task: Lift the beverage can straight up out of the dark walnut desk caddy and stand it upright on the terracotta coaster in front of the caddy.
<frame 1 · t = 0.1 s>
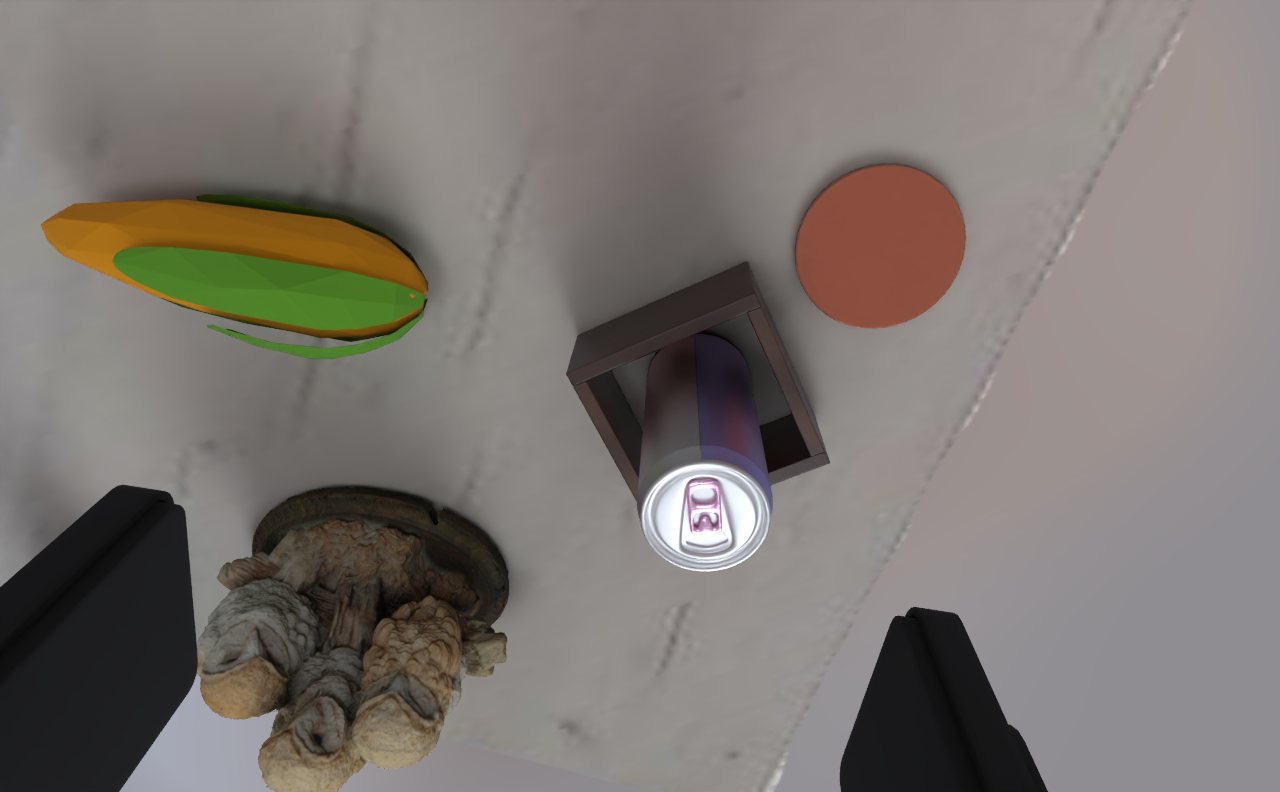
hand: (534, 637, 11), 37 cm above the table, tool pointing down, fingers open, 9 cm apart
caddy: (698, 377, 50), on the table
coaster: (878, 247, 47), on the table
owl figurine: (392, 561, 57), on the table
corn: (267, 252, 48), on the table
beverage can: (698, 375, 50), resting in caddy
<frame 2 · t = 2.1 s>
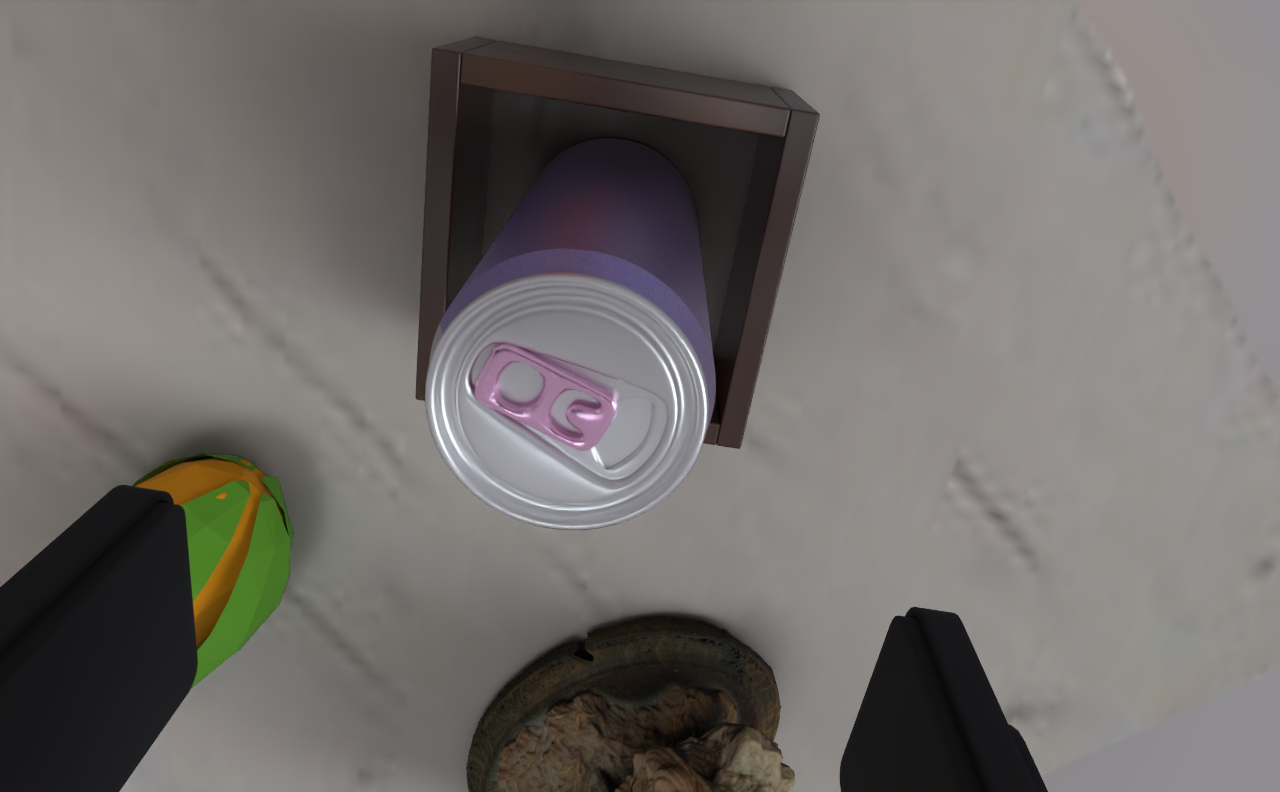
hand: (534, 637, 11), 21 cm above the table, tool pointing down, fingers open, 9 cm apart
caddy: (612, 221, 30), on the table
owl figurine: (624, 723, 41), on the table
corn: (172, 577, 38), on the table
beverage can: (612, 220, 30), resting in caddy
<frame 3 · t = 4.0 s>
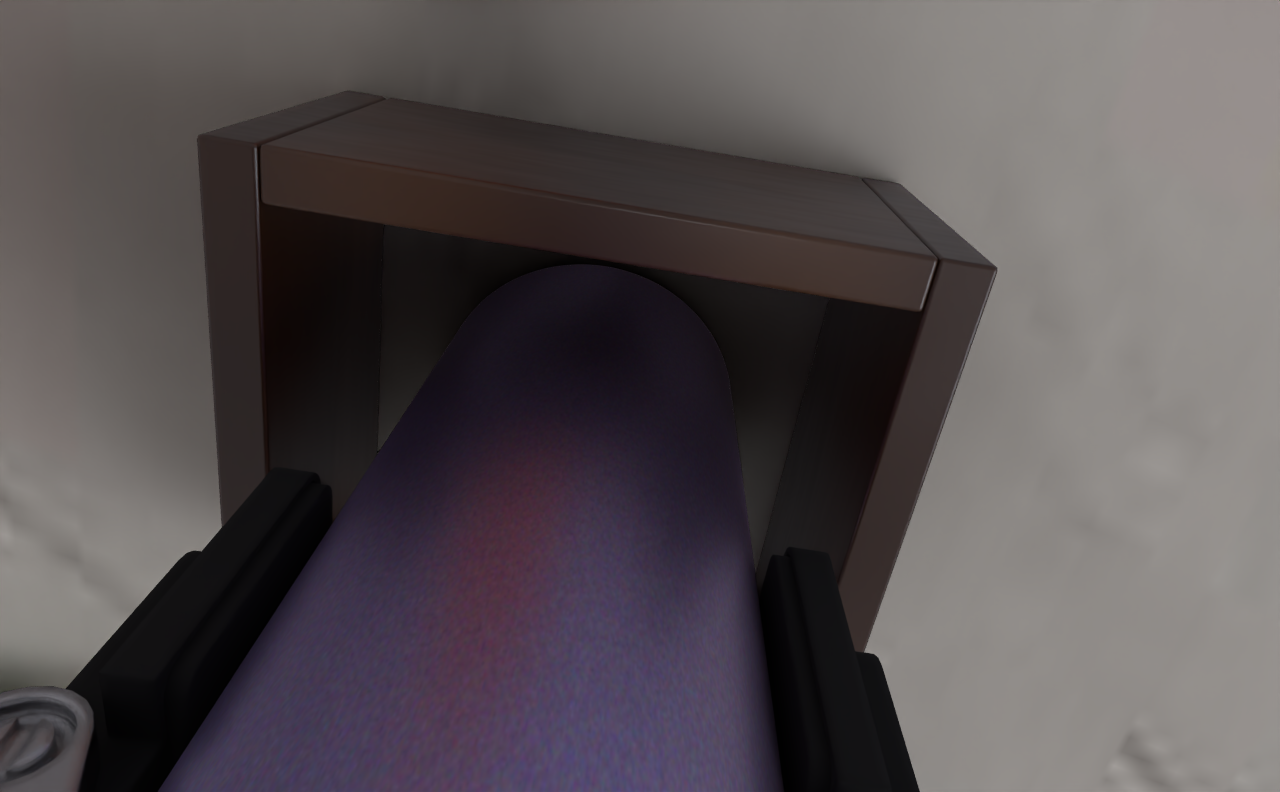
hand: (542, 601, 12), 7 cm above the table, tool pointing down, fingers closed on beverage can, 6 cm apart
caddy: (589, 389, 18), on the table
beverage can: (590, 385, 19), resting in caddy, touching gripper
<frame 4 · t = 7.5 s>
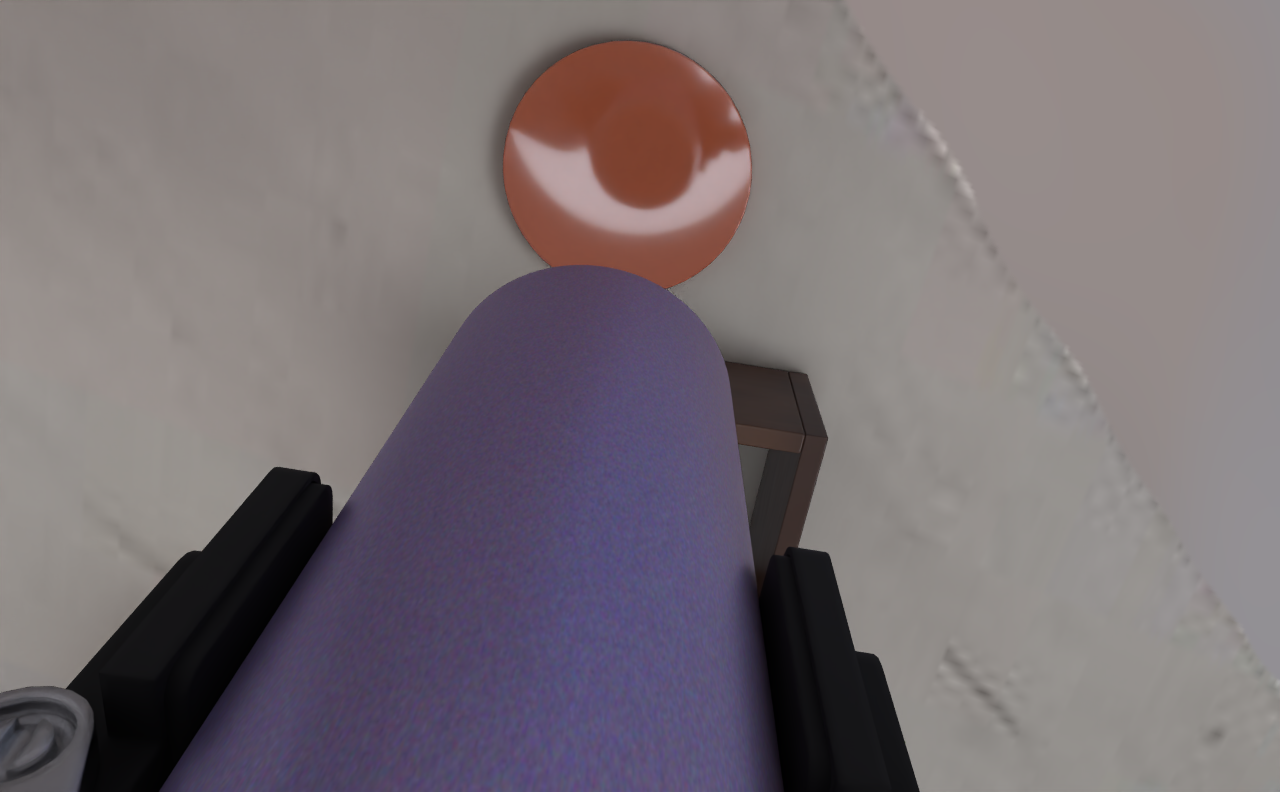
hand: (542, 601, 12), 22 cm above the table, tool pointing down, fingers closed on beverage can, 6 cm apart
caddy: (656, 466, 37), on the table
coaster: (627, 173, 31), on the table
beverage can: (590, 386, 19), point 15 cm above the table, touching gripper
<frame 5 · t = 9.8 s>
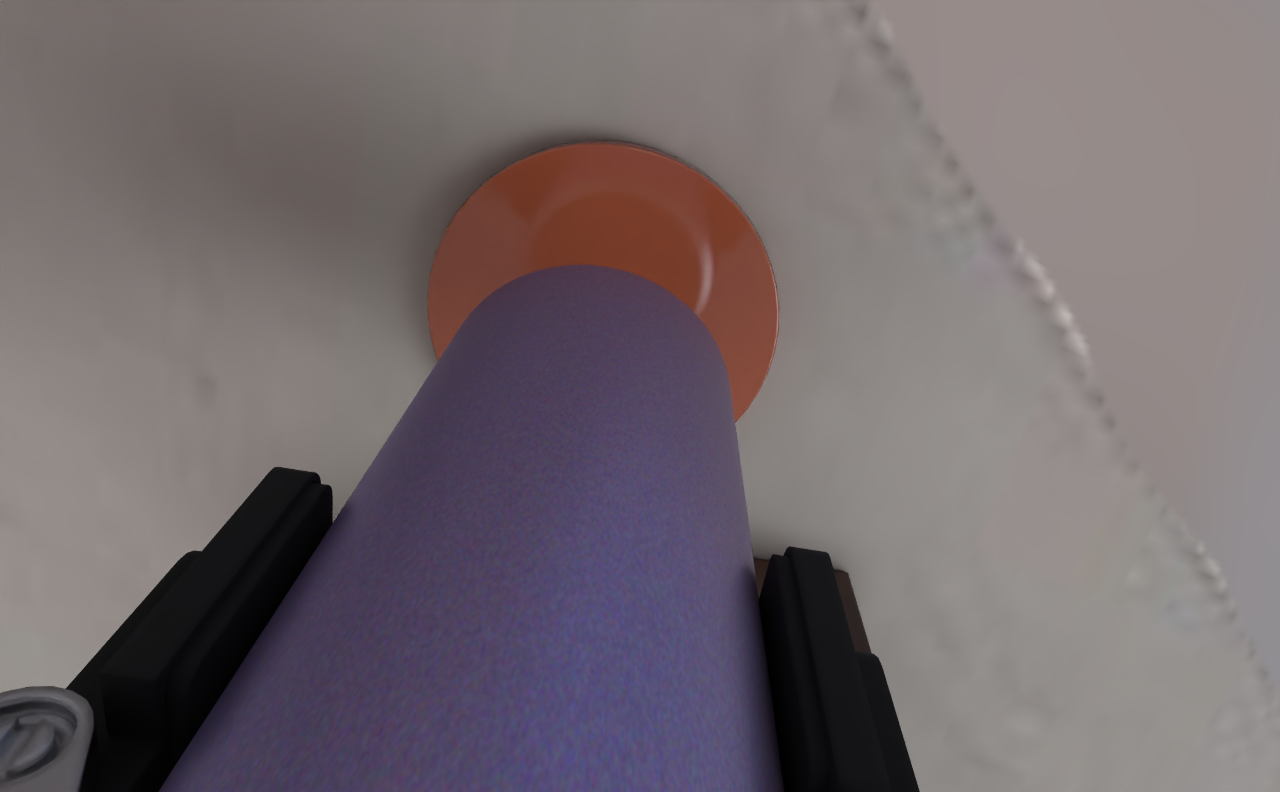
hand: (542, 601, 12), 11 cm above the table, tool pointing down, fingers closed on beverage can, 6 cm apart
caddy: (644, 679, 28), on the table
coaster: (603, 317, 22), on the table
beverage can: (590, 386, 19), point 4 cm above the table, touching gripper
when the fingers open (8 cm above the table, at t = 11.2 s): beverage can stays where it is, resting on coaster.
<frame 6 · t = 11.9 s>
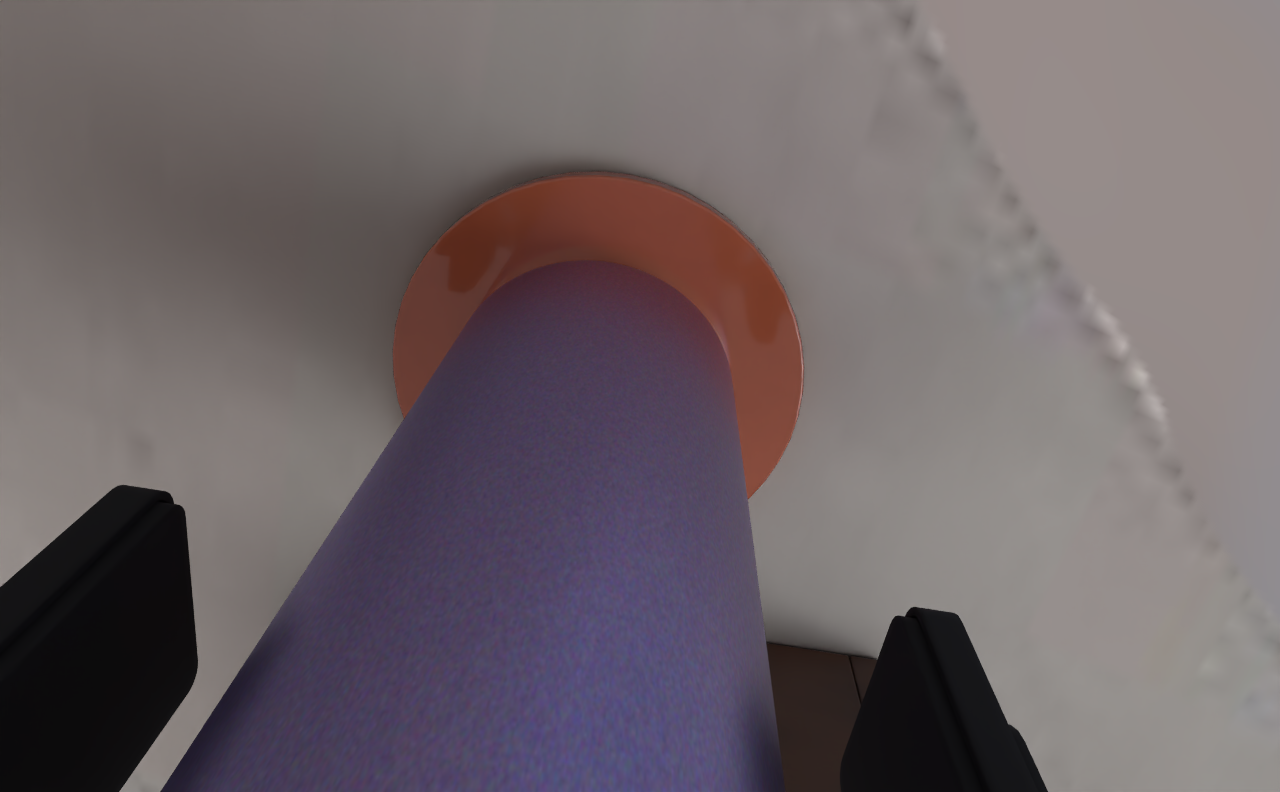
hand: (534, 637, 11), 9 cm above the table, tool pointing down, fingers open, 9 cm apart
caddy: (645, 772, 24), on the table
coaster: (598, 375, 19), on the table
beverage can: (594, 380, 19), resting on coaster
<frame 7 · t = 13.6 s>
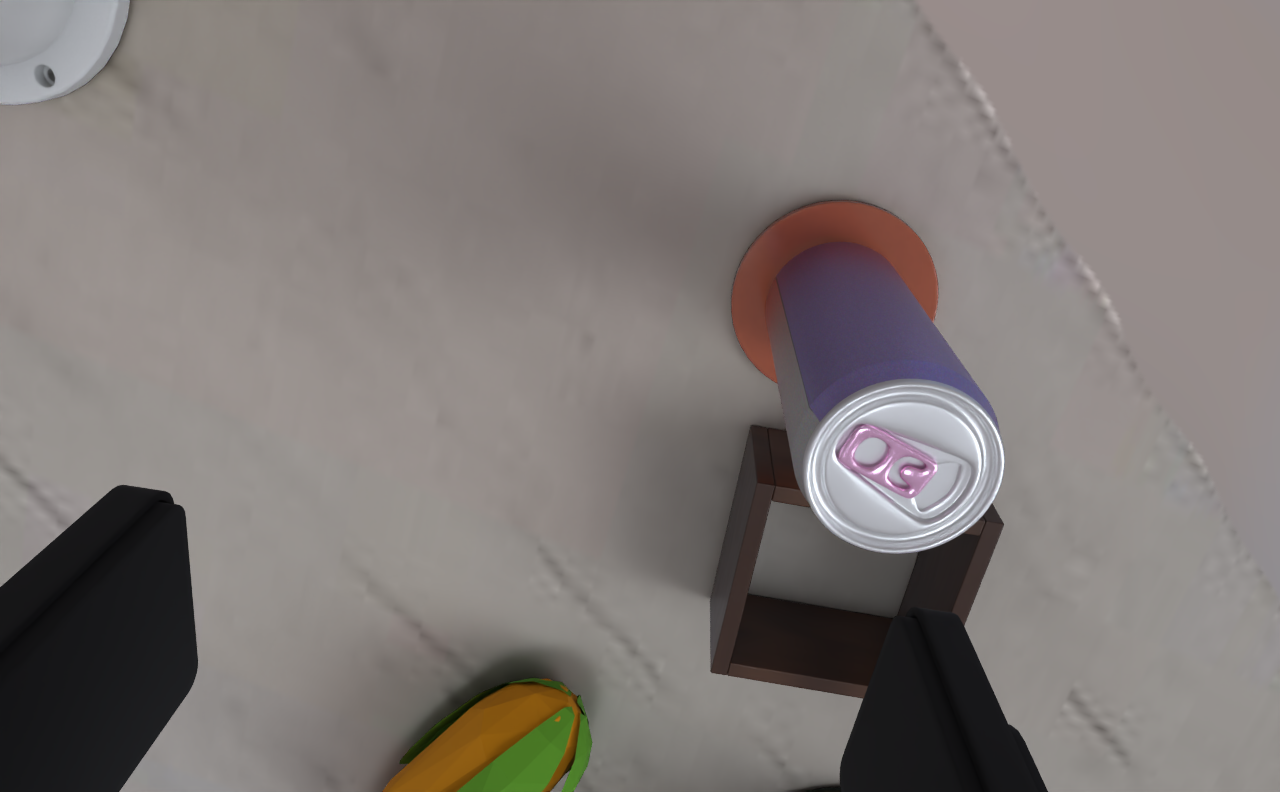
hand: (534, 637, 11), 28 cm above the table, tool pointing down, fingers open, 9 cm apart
caddy: (832, 534, 43), on the table
coaster: (832, 300, 38), on the table
corn: (476, 746, 52), on the table
beverage can: (832, 302, 38), resting on coaster
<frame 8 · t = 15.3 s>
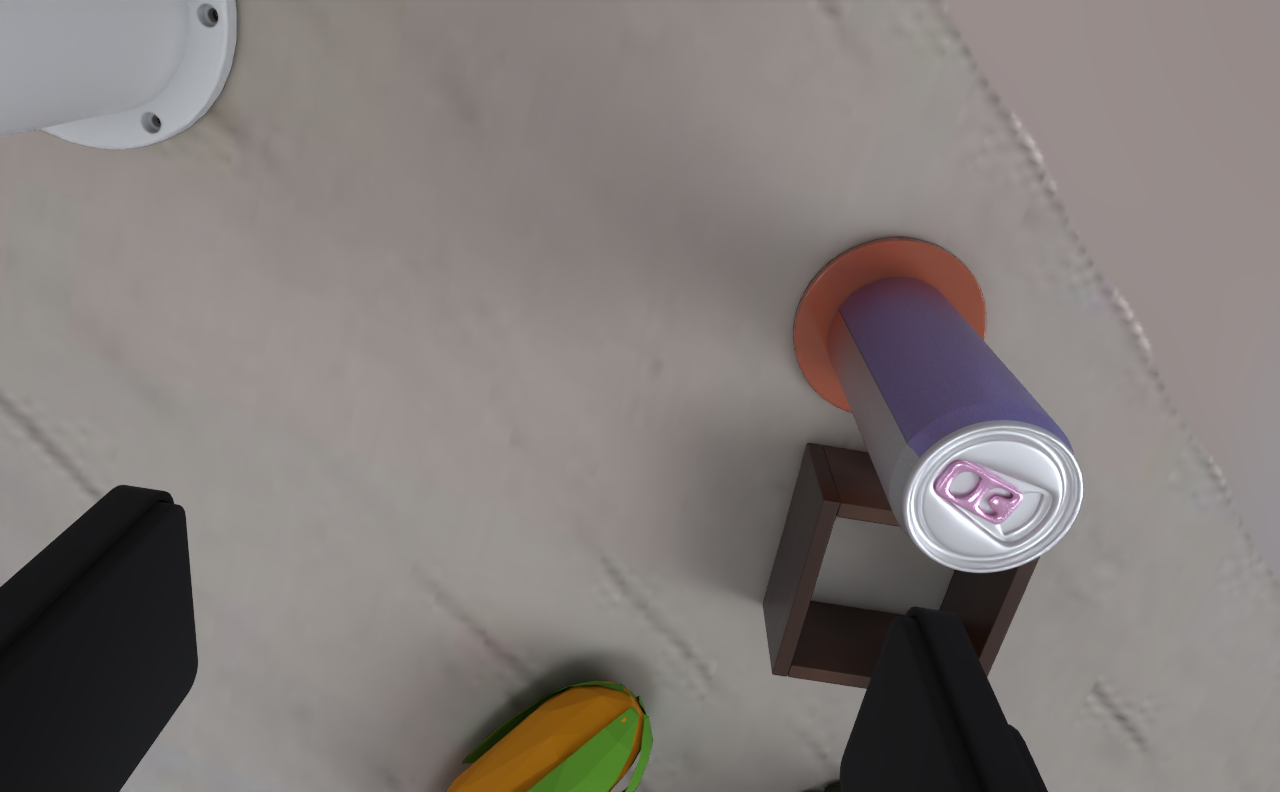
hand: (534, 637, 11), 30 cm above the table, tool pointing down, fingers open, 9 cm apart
caddy: (879, 542, 46), on the table
coaster: (887, 329, 41), on the table
corn: (533, 745, 54), on the table
beverage can: (887, 331, 41), resting on coaster
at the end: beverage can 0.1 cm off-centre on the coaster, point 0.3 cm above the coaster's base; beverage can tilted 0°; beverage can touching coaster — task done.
